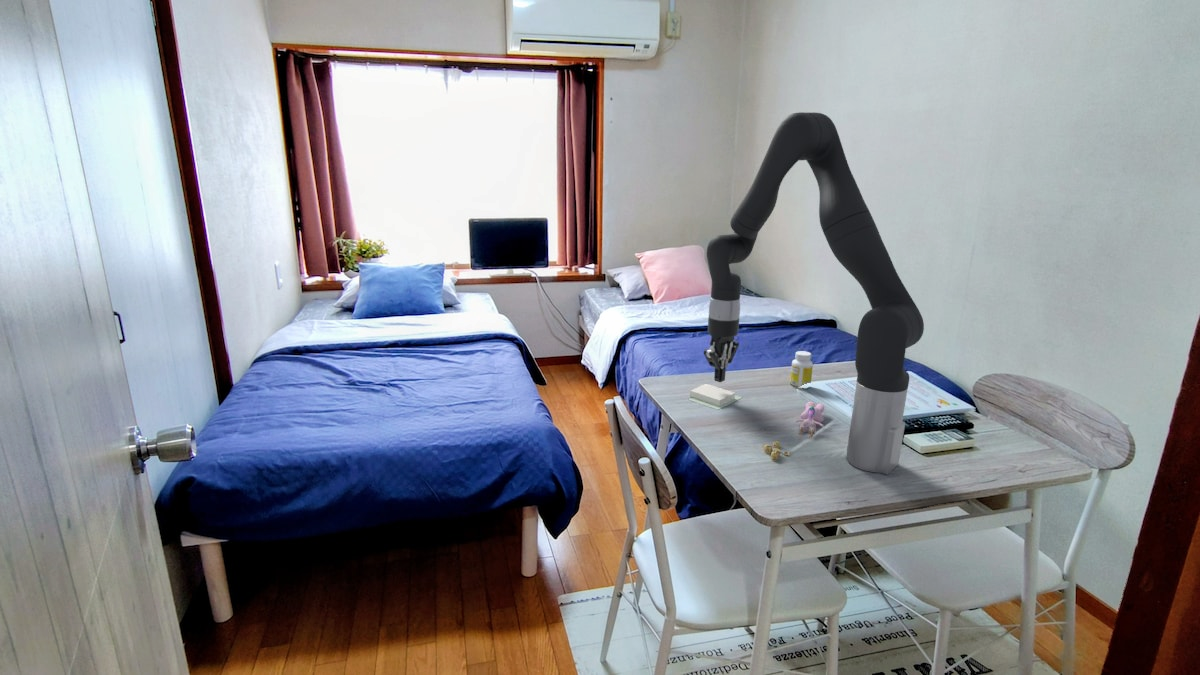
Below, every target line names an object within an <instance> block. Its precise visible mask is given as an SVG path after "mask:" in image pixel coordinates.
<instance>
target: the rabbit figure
mask: <svg viewBox="0 0 1200 675" xmlns="http://www.w3.org/2000/svg"><path fill="white" fill-rule="evenodd" d="M824 411H825V405H824V403H818V404H816V403H815V402H814V401H808V402H806V404H805V410H804V411H803V412H802V413H801V414H800V418H801V419H800V418H799V419H795V423H800V422H801V424H800V425H799V428H798V429H799V432H798V434H799V435H802V434H803V433H806V432H807V433H809V434H810V435H809V438H810V437H811V439H812V438H814V435H815V434H816V432H817V426H820V427H821V428H824V424H822V422H823V421H824V417H823V412H824Z"/></svg>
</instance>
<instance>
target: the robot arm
mask: <svg viewBox="0 0 1200 675" xmlns="http://www.w3.org/2000/svg"><path fill="white" fill-rule="evenodd" d="M798 161H806V162H807V164H808V165H809V167H810V169H811V171H812V174H813V175H814V177H815V181H816V182H817V187H818V190H819V205H818V206H819V207H818V214H819V216H818V217H819V223H820V224H819V225H820V227H821V231H822V232H823V236H824V237H825V239H826V242H827V244H828V246H829V248H830V250H831V252H832V253H833V256H834V257H835V258H836V260H837V261H838V262H839V263H840V264H841V265H842V266H843V268H845V269H846V271H847V272H848V273H849V274H850V275H851V276H852V277H853V278H854V279H855V280H856V281H857V282H858V283H859V285H860V286H861V288H862V290H863V291H864V293H865V295H866V297H867V299H868V302H869V304H870V307H871V309H870V310H868V311H867V312H866V313H865V314H864V315H863V317H862V318H861V320H860V323H859V326H858V332H857V338H856V349H855V362H854V364H855V368H856V373H857V378H856V382H855V383H856V385H855V391H854V398H853V406H852V413H851V419H850V420H851V421H850V427H849V434H848V442H847V448H846V455H845V456H846V457H845V458H846V460H847V462H848V463H849V464H850V465H852V466H853V467H856V468H857V469H860V470H862V471H865V472H871V473H881V474H883V475H884V474H885V475H889V474H891V472H892V471H893V470H895V469H896V467H897V466H898V465H899V463H900V459H901V458H900V457H901V450H902V445H903V439H904V434H905V433H904V432H905V428H906V422H905V421H904V420H903V417H904V415H905V414H904V413H905V407H906V401H907V396H908V389H909V384H910V383H909V382H910V375H909V372H908V371H907V370H905V369H904V364H905V357H906V350H907V348H910V347H912V346H914V345H916V344H918V342H919V341H920V340H921V339H922V336H924V335H923V334H924V329H925V324H924V319H923V316H922V314H921V312H920V310H919V308H918V306H917V305H916V303H915V301H914V300H913V298H912V297H911V295H910V293H909V292H908V290H907V288H906V286H905V284H904V283H903V281H902V279H901V278H900V276H899V274H898V273H897V270H896V268H895V266H894V263H893V261H892V259H891V256H890V254H889V251H888V250H887V247H886V246H885V244H884V242H883V239H882V236H881V234H880V232H879V229H878V227H877V224H876V223H875V220H874V218H873V216H872V213H871V212H870V209H869V208H868V206H867V204H866V202H865V200H864V197H863V195H862V193H861V191H860V188H859V186H858V184H857V181H856V179H855V177H854V175H853V173H852V171H851V168H850V165H849V163H848V160H847V157H846V153H845V151H844V147H843V145H842V142H841V138H840V135H839V133H838V130H837V128H836V125H835V123H834V122H833V120H832V119H831V118H830V117H829V116H828V115H826V114H824V113H822V112H801V111H799V112H794V113H791V114H789V115H787V116H785V117H784V118H783V120H782V121H781V122H780V123H779V125H778V126H777V128H776V130H775V132H774V135H773V137H772V139H771V141H770V144H769V146H768V148H767V151H766V153H765V156H764V157H763V159H762V162H761V164H760V167H759V169H758V171H757V174H756V176H755V178H754V180H753V182H752V185H750V188H749V189H748V191H747V193H746V195H745V196H744V198H743V199H742V201H741V202H740V204H739V205H738V207H737V209H736V210H735V212H734V213H733V214H732V217H731V219H730V222H729V223H730V227H731V229H732V231H733V233H732V234H730V233H729V234H720V235H718V234H717V235H715V236H713V237H712V238H711V239H710V240H709V242H708V244H707V248H706V260H707V263H708V269H709V275H710V278H711V279H710V280H711V289H710V301H709V305H708V321H707V322H708V323H707V333H708V334H709V335H710V336H711V337H710V338H711V339H710V340H709V346H710V347H709V348H708V349H704V350H703V355H704V358H705V359H706V361H707V362H708V366H710V367H712V368H714V377H713V378H714V381H715V382H718V383H722V382H725V381H726V372H727V371H726V370H727V368H728V365H729V364H732V361H733V359H734V357H735V355H736V352H737V350H738V347H739V346H740V343H739V342H737V341H735V337H736V336H738V335H739V328H740V314H741V287H742V280H741V279H742V278H741V276H740V275H739V274H736V273H733V272H731V268H730V265H733V264H739V263H742V262H744V261H745V260H747V258H749V256H750V255H751V253H752V252H753V249H754V246H755V243H756V242H757V238H758V234H759V232H760V230H762V228H763V226H765V223H766V222H767V220H769V218H770V216H771V215H772V213H773V212H774V209H775V207H776V204H777V201H778V197H779V189H780V187H781V184H782V183H783V180H784V179H785V177H786V176H787V174H788V172H789V171H790V170H791V169H792V168H793V167H794V166H795V164H796V163H797V162H798Z"/></svg>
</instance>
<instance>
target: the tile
mask: <svg viewBox="0 0 1200 675" xmlns="http://www.w3.org/2000/svg"><path fill="white" fill-rule="evenodd" d="M735 395H736V392H734V391H731V390H727V389H724V388H720V387H718V386H715V385H712V384H708V383H704V384H702V385H699V386H698V387H695V388H692V389H691V390H689V397H690V398H696V399H699V400H702V401H705V402H708V403H711V404H714V405H717V406H721V405H723V404H725V403H727V402H729V401H731V400H733V399H735Z"/></svg>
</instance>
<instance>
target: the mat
mask: <svg viewBox="0 0 1200 675" xmlns="http://www.w3.org/2000/svg"><path fill="white" fill-rule="evenodd" d="M742 398H743V397H742V396H740V395H736V394H735V399H733V400H731V401H729V402H727V403H725V404H723V405H721V406H717V405H714V404H711V403H708V402H705V401H702V400H699V399H696V398H693V397H690V398H688V401H691V402H693V403H697V404H699V405H702V406H706V407H709V408H711V409H714V410H717V411H719V410H721V409H723V408H725V407H727V406H729V405H731V404H732V403H734V402H737V401H739V400H740V399H742Z"/></svg>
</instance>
